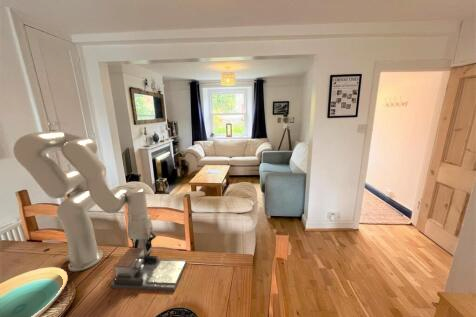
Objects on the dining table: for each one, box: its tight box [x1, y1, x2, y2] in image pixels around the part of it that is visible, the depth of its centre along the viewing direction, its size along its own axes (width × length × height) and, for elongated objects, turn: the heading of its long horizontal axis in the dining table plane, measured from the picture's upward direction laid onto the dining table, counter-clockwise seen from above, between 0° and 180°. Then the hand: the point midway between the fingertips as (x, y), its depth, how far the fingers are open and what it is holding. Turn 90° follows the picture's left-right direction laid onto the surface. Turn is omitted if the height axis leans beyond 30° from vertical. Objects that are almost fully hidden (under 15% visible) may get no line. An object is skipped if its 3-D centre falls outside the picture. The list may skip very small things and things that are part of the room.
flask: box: [137, 239, 153, 256], centre depth 92 cm, size 7×7×10 cm
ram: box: [113, 247, 145, 278], centre depth 79 cm, size 8×10×7 cm
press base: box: [110, 255, 188, 292], centre depth 80 cm, size 25×14×4 cm, turn 86°
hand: (143, 248), depth 93 cm, fingers closed on flask, 4 cm apart
